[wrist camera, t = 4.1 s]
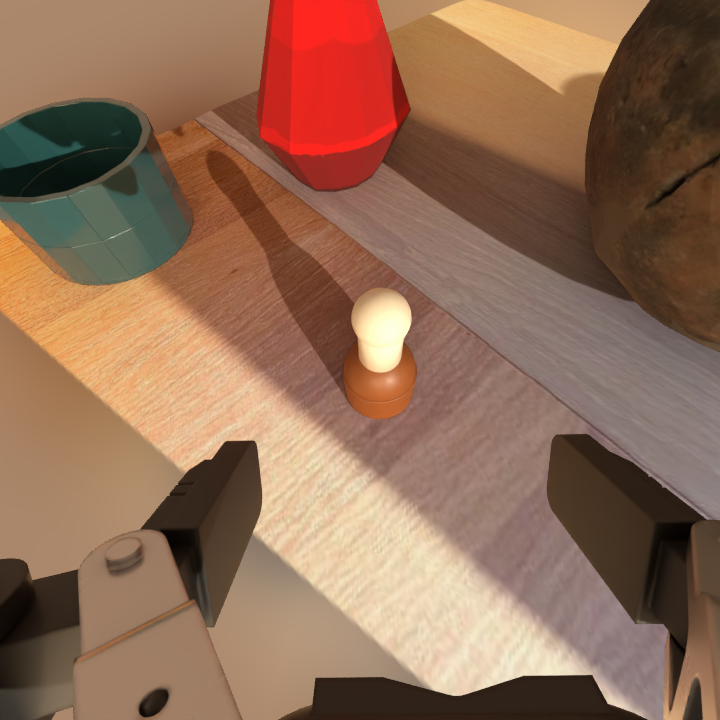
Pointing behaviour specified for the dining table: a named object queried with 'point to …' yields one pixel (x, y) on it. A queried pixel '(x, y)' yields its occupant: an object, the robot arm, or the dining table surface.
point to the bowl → (91, 190)
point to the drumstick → (380, 355)
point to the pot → (662, 166)
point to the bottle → (329, 91)
